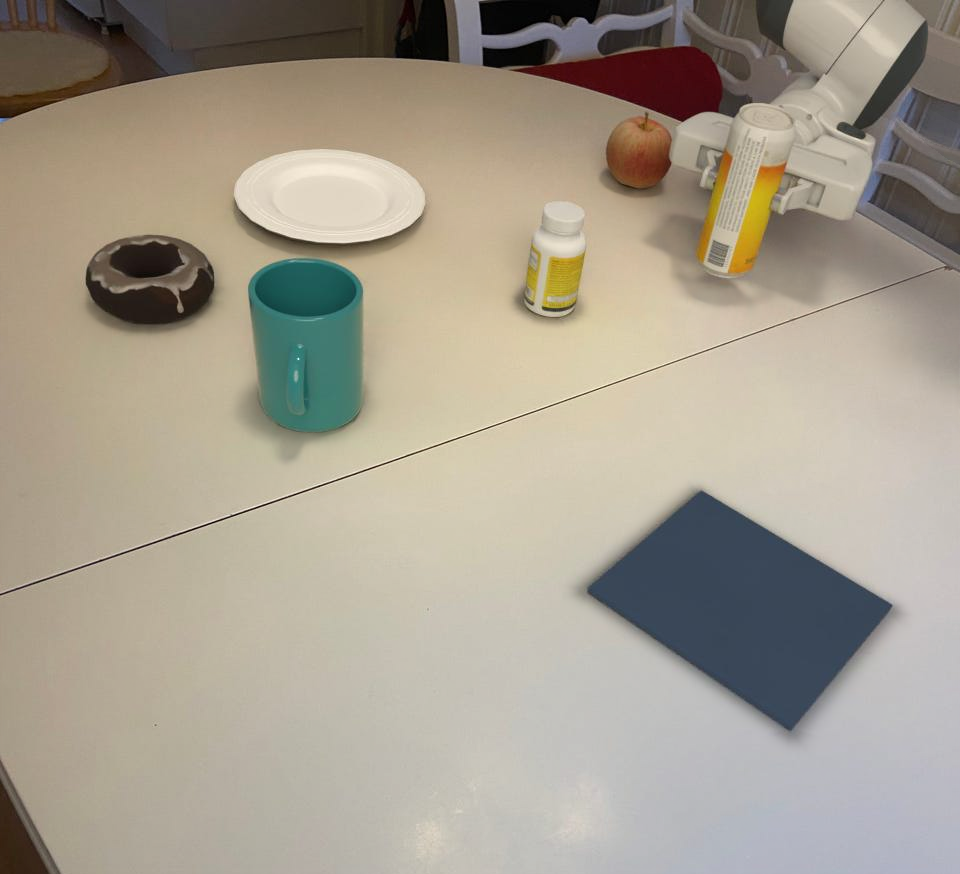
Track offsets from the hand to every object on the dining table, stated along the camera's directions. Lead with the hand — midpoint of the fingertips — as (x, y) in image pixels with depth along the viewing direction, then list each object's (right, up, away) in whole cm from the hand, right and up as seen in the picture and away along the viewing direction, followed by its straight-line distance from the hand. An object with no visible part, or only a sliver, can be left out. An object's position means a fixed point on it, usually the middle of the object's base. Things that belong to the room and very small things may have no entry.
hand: (742, 193), depth 94 cm
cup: (-41, -24, -10) cm, 48 cm away
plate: (-42, +4, +13) cm, 44 cm away
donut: (-57, -11, -1) cm, 58 cm away
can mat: (-6, -41, -20) cm, 46 cm away
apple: (-7, +12, +23) cm, 27 cm away
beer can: (0, -5, +7) cm, 8 cm away
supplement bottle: (-19, -9, +4) cm, 21 cm away
